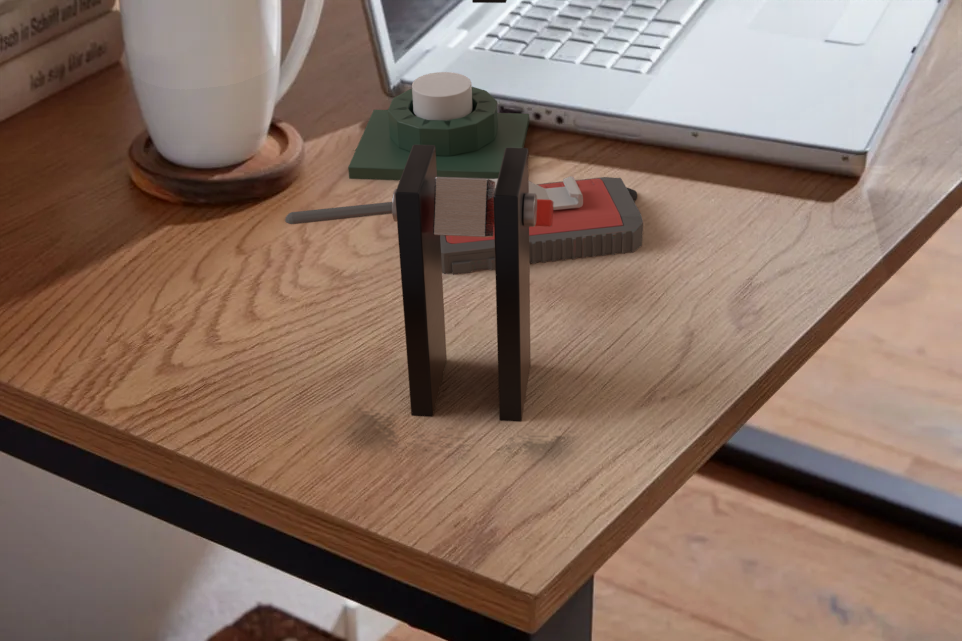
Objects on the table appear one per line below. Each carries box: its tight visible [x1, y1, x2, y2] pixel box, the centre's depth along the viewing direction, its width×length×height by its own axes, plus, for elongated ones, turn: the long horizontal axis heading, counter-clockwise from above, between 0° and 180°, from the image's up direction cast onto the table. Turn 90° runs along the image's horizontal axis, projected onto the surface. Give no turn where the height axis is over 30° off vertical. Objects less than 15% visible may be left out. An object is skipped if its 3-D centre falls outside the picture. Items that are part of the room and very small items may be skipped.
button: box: [411, 71, 473, 120], centre depth 81 cm, size 4×4×2 cm
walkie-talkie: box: [284, 175, 644, 276], centre depth 73 cm, size 9×4×20 cm
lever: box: [433, 177, 554, 237], centre depth 61 cm, size 12×6×2 cm, turn 173°
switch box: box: [347, 86, 530, 181], centre depth 82 cm, size 10×8×4 cm
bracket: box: [391, 145, 537, 423], centre depth 59 cm, size 8×8×13 cm
